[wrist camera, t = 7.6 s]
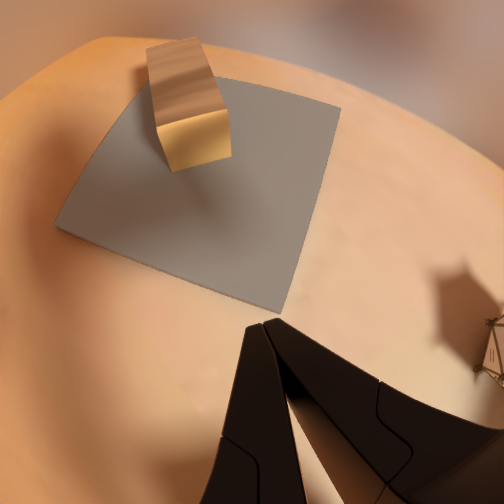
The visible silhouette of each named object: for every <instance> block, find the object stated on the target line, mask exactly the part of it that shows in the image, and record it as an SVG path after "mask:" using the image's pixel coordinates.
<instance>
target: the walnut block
mask: <svg viewBox="0 0 504 504" xmlns="http://www.w3.org/2000/svg"><path fill="white" fill-rule="evenodd" d="M146 57H147V66H148V73H149V81H150V88H151V95H152V102H153V109H154V115H155V122H156V128H157V133H158V136H159V139H160V142H161V145H162V147H163V150H164V153H165V155H166V158H167V161H168V163H169V166H170V169H171V171H172V172H176V171H179V170H183V169H186V168H190V167H193V166H197V165H201V164H204V163H208V162H212V161H216V160H219V159H223V158H227V157H231V156H232V154H231V140H230V125H229V114H228V111H227V109H226V106H225V103H224V101H223V98H222V96H221V93H220V91H219V88H218V86H217V83H216V81H215V78H214V76H213V73H212V71H211V68H210V66H209V63H208V61H207V58H206V56H205V53H204V51H203V48H202V46H201V43H200V41H199V39H198V36H195V37H190V38H186V39H181V40H177V41H173V42H169V43H165V44H162V45H158V46H154V47H151V48H147V49H146Z"/></svg>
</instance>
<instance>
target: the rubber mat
mask: <svg viewBox="0 0 504 504" xmlns="http://www.w3.org/2000/svg"><path fill="white" fill-rule="evenodd" d="M214 78H215V81H216V83H217V86H218V88H219V91H220V93H221V96H222V98H223V101H224V103H225V106H226V109H227V111H228V114H229V125H230V140H231V154H232V156H231V157H227V158H223V159H219V160H216V161H212V162H208V163H204V164H201V165H197V166H193V167H190V168H186V169H183V170H179V171H176V172H172V171H171V169H170V166H169V163H168V161H167V158H166V155H165V153H164V150H163V147H162V145H161V142H160V139H159V136H158V133H157V128H156V122H155V115H154V109H153V102H152V95H151V88H150V81H148V82H147V83H146V84H145V85H144V87H143V88H142V89H141V90H140V91H139V93H138V94H137V95H136V96H135V98H134V99H133V100H132V101H131V103H130V104H129V105H128V107H127V108H126V109H125V111H124V112H123V113H122V115H121V116H120V117H119V119H118V120H117V121H116V123H115V124H114V125H113V127H112V128H111V130H110V131H109V132H108V134H107V135H106V137H105V138H104V140H103V141H102V143H101V144H100V146H99V147H98V149H97V150H96V152H95V153H94V155H93V156H92V158H91V159H90V161H89V162H88V164H87V166H86V167H85V169H84V170H83V172H82V174H81V175H80V177H79V179H78V180H77V182H76V184H75V186H74V187H73V189H72V191H71V192H70V194H69V196H68V198H67V200H66V201H65V203H64V205H63V207H62V209H61V211H60V213H59V215H58V216H57V218H56V220H55V222H54V224H53V225H54V226H56V227H57V228H59V229H61V230H63V231H65V232H68V233H70V234H72V235H74V236H77V237H79V238H81V239H84V240H86V241H88V242H91V243H93V244H95V245H98V246H100V247H102V248H105V249H107V250H110V251H112V252H114V253H117V254H119V255H122V256H124V257H127V258H129V259H131V260H134V261H136V262H139V263H141V264H144V265H146V266H149V267H151V268H154V269H157V270H159V271H162V272H164V273H167V274H169V275H172V276H175V277H177V278H180V279H183V280H185V281H188V282H190V283H193V284H196V285H198V286H201V287H204V288H207V289H209V290H212V291H215V292H218V293H220V294H223V295H226V296H229V297H231V298H234V299H237V300H240V301H243V302H246V303H248V304H251V305H254V306H257V307H260V308H263V309H266V310H269V311H272V312H275V313H278V314H281V312H282V309H283V306H284V303H285V300H286V297H287V294H288V291H289V288H290V285H291V281H292V278H293V275H294V272H295V269H296V266H297V263H298V260H299V256H300V253H301V250H302V247H303V243H304V240H305V237H306V234H307V230H308V227H309V224H310V220H311V217H312V214H313V210H314V207H315V203H316V200H317V197H318V193H319V190H320V186H321V183H322V179H323V175H324V172H325V168H326V165H327V161H328V157H329V154H330V150H331V146H332V142H333V139H334V135H335V131H336V127H337V123H338V119H339V115H340V111H341V108H339V107H336V106H333V105H330V104H326V103H323V102H320V101H317V100H314V99H310V98H307V97H303V96H300V95H296V94H293V93H289V92H285V91H281V90H277V89H273V88H269V87H265V86H261V85H256V84H252V83H247V82H242V81H237V80H232V79H227V78H221V77H215V76H214Z"/></svg>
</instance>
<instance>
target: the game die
mask: <svg viewBox="0 0 504 504" xmlns="http://www.w3.org/2000/svg"><path fill="white" fill-rule="evenodd" d="M484 320H485V322H486V325H488V327H489V326H491V328H490V333H489V338H488V342H487V346H486V351H485V355H484V359H483V362H482V365H478V366H476V367H475V369H474V370H473V371H477V372H478V371H480V370H481V369H482V368H483V369H484V370H485V371H486V372H487V373H488V374H489V375H490V376H491V377H492V378H493V379H494V380H495V381H496V382H497V383H498V384H499V385H500V386H502V387H503V388H504V315H503V316H501V317H500V318H499V319H498V318H495V319H494V321H493V322H492V320H490V319H484Z"/></svg>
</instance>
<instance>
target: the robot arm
mask: <svg viewBox="0 0 504 504" xmlns="http://www.w3.org/2000/svg"><path fill="white" fill-rule="evenodd" d="M287 401H288V403H289V405H290V407H291V409H292V411H293V413H294V415H295V417H296V418H297V420H298V422H299V424H300V426H301V428H302V430H303V431H304V433H305V435H306V437H307V439H308V440H309V442H310V444H311V446H312V448H313V450H314V451H315V453H316V455H317V457H318V458H319V460H320V462H321V464H322V466H323V467H324V469H325V471H326V473H327V474H328V476H329V478H330V480H331V481H332V483H333V485H334V487H335V488H336V490H337V492H338V493H339V495H340V497H341V499H342V500H343V502H344V504H504V429H494V428H489V427H485V426H482V425H479V424H476V423H473V422H470V421H468V420H465V419H462V418H459V417H457V416H454V415H452V414H449V413H446V412H444V411H441V410H439V409H436V408H434V407H431V406H429V405H427V404H424V403H422V402H420V401H418V400H415V399H413V398H411V397H409V396H408V395H406V394H404V393H402V392H400V391H398V390H396V389H394V388H393V387H391V386H389V385H387V384H386V383H384V382H382V381H381V382H379V379H377V378H375V377H374V376H372V375H370V374H369V373H367V372H365V371H364V370H362V369H360V368H359V367H357V366H355V365H354V364H352V363H350V362H349V361H347V360H345V359H344V358H342V357H340V356H339V355H337V354H335V353H334V352H332V351H331V350H329V349H327V348H326V347H324V346H322V345H321V344H319V343H318V342H316V341H314V340H313V339H311V338H310V337H308V336H306V335H305V334H303V333H302V332H300V331H299V330H297V329H295V328H294V327H292V326H291V325H289V324H287V323H286V322H284V321H283V320H281V319H280V318H274V319H271V320H268V321H265V322H264V323H263V324H261V323H258V324H255V325H251V326H248V327H247V328H246V329H245V334H244V338H243V342H242V347H241V351H240V356H239V360H238V365H237V369H236V373H235V378H234V382H233V386H232V391H231V395H230V400H229V404H228V408H227V412H226V417H225V421H224V425H223V430H222V437H221V438H220V442H219V446H218V450H217V454H216V458H215V461H214V465H213V468H212V472H211V475H210V477H209V480H208V483H207V486H206V488H205V491H204V494H203V496H202V498H201V501H200V503H199V504H308V499H307V495H306V490H305V485H304V480H303V475H302V471H301V466H300V461H299V456H298V451H297V447H296V442H295V437H294V432H293V428H292V423H291V418H290V413H289V409H288V404H287Z"/></svg>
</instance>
